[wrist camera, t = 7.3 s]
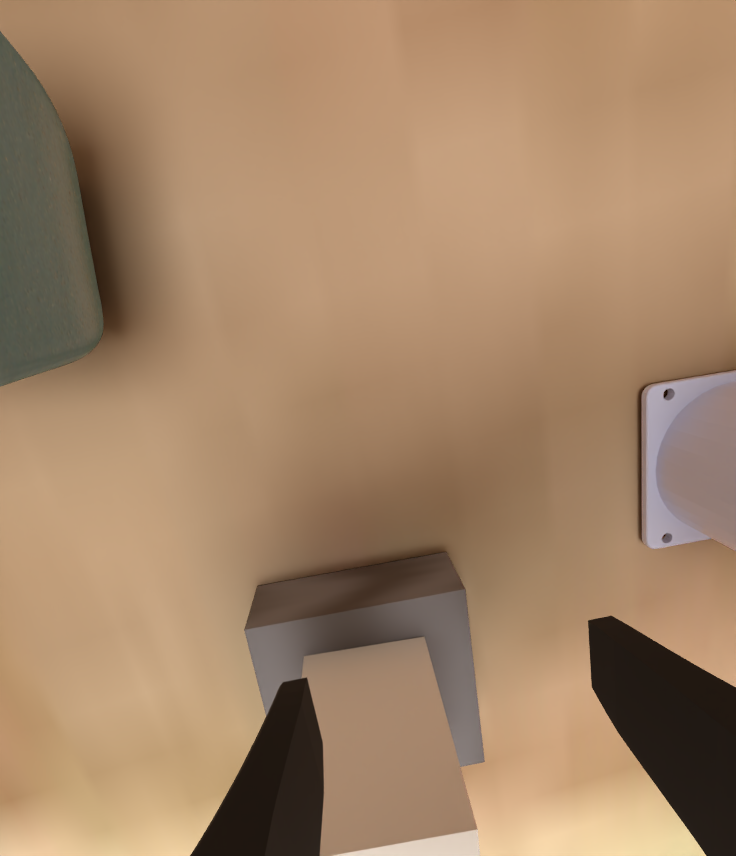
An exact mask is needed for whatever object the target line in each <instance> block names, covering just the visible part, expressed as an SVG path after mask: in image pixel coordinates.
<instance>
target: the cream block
mask: <svg viewBox="0 0 736 856" xmlns="http://www.w3.org/2000/svg"><path fill="white" fill-rule="evenodd" d="M306 677H307V679H308V683H309V688H310V692H311V696H312V700H313V704H314V708H315V712H316V716H317V720H318V725H319V729H320V733H321V737H322V741H323V765H324V800H323V815H322V830H321V844H320V856H480V849H479V839H478V829H477V826H476V822H475V819H474V815H473V811H472V808H471V804H470V800H469V797H468V793H467V789H466V786H465V782H464V779H463V775H462V771H461V768H460V764H459V760H458V757H457V753H456V750H455V746H454V742H453V739H452V735H451V731H450V728H449V724H448V721H447V717H446V713H445V710H444V706H443V702H442V699H441V695H440V691H439V688H438V684H437V681H436V677H435V673H434V670H433V666H432V662H431V659H430V655H429V652H428V648H427V644H426V641H425V637H418V638H412V639H406V640H400V641H394V642H388V643H382V644H376V645H369V646H363V647H357V648H351V649H345V650H339V651H333V652H327V653H321V654H314V655H308V656H304V660H303V670H302V678H306Z"/></svg>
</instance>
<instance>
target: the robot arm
mask: <svg viewBox="0 0 736 856" xmlns="http://www.w3.org/2000/svg"><path fill="white" fill-rule="evenodd" d="M666 389H667V390H668V394H667V396H666V397H665V398H664V397H663V394H664V392H665V390H666ZM664 534H666V536H665V537H664V538H663V539H662V537H663V535H664ZM707 539H714V540H716V541H718V542H719V543H721V544H723V545H725V546H727V547H728V548H730V549H732V550H734V551H736V370H733V371H727V372H721V373H715V374H709V375H703V376H697V377H691V378H685V379H679V380H673V381H667V382H661V383H655V384H651V385H648V386H647V387H646V388H645V389H644V391H643V392H642V541H643V543H644V544H645V545H646V546H648V547H649V548H652V549H659V548H664V547H669V546H675V545H680V544H686V543H691V542H697V541H702V540H707ZM588 626H589V644H590V662H591V680H592V688H593V690H594V692H595V693H596V695H597V697H598V699H599V701H600V702H601V704H602V706H603V708H604V709H605V711H606V713H607V715H608V716H609V718H610V720H611V721H612V723H613V725H614V726H615V728H616V730H617V731H618V733H619V734H620V736H621V737H622V738H623V740H624V741H625V743H626V744H627V746H628V747H629V748H630V750H631V751H632V753H633V754H634V755H635V757H636V758H637V760H638V761H639V762H640V764H641V765H642V767H643V768H644V769H645V771H646V772H647V773H648V775H649V776H650V778H651V779H652V780H653V782H654V783H655V784H656V786H657V787H658V789H659V790H660V791H661V793H662V794H663V795H664V797H665V798H666V800H667V801H668V802H669V804H670V805H671V806H672V808H673V809H674V811H675V812H676V813H677V815H678V816H679V818H680V819H681V820H682V822H683V823H684V824H685V826H686V827H687V829H688V830H689V831H690V833H691V834H692V835H693V837H694V838H695V840H696V841H697V843H698V844H699V845H700V847H701V848H702V850H703V851H704V853H705V854H706V856H736V687H734V686H732V685H730V684H728V683H727V682H725V681H723V680H721V679H719V678H717V677H716V676H714V675H712V674H710V673H708V672H707V671H705V670H703V669H701V668H700V667H698V666H696V665H694V664H693V663H691V662H689V661H687V660H686V659H684V658H682V657H681V656H679V655H677V654H675V653H674V652H672V651H670V650H669V649H667V648H665V647H664V646H662V645H660V644H659V643H657V642H655V641H653V640H652V639H650V638H648V637H647V636H645V635H643V634H642V633H640V632H638V631H637V630H635V629H633V628H632V627H630V626H628V625H627V624H625V623H623V622H622V621H620V620H618V619H616V618H614V617H613V616H608V617H603V618H598V619H593V620H588ZM323 800H324V765H323V741H322V737H321V733H320V729H319V725H318V720H317V716H316V712H315V708H314V704H313V700H312V696H311V692H310V688H309V683H308V679H307V677H306V678H301V679H296V680H291V681H286V682H283V683H282V684H281V685H280V687H279V689H278V691H277V693H276V696H275V698H274V700H273V703H272V705H271V707H270V709H269V712H268V714H267V716H266V718H265V720H264V722H263V725H262V727H261V729H260V731H259V733H258V735H257V737H256V739H255V741H254V743H253V745H252V747H251V749H250V751H249V753H248V755H247V757H246V759H245V761H244V763H243V765H242V767H241V769H240V771H239V773H238V775H237V777H236V779H235V780H234V782H233V784H232V786H231V788H230V789H229V791H228V793H227V795H226V796H225V798H224V800H223V802H222V804H221V805H220V807H219V809H218V811H217V813H216V814H215V816H214V818H213V820H212V821H211V823H210V825H209V826H208V828H207V830H206V831H205V833H204V835H203V836H202V838H201V839H200V841H199V843H198V844H197V846H196V848H195V849H194V851H193V852H192V854H191V855H190V856H320V844H321V830H322V815H323Z"/></svg>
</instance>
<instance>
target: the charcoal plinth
mask: <svg viewBox="0 0 736 856" xmlns="http://www.w3.org/2000/svg"><path fill="white" fill-rule="evenodd" d="M244 631H245V634H246V638H247V642H248V646H249V650H250V654H251V658H252V662H253V666H254V670H255V674H256V678H257V682H258V685H259V689H260V693H261V697H262V701H263V705H264V709H265V713H266V716H267V714H268V712H269V709H270V707H271V705H272V703H273V700H274V698H275V696H276V693H277V691H278V689H279V687H280V685H281V684H282V683H283V682H286V681H291V680H296V679H301V678H302V670H303V660H304V656H308V655H314V654H321V653H327V652H333V651H339V650H345V649H351V648H357V647H363V646H369V645H376V644H382V643H388V642H394V641H400V640H406V639H412V638H418V637H425V641H426V644H427V648H428V652H429V655H430V659H431V662H432V666H433V670H434V673H435V677H436V681H437V684H438V688H439V691H440V695H441V699H442V702H443V706H444V710H445V713H446V717H447V721H448V724H449V728H450V731H451V735H452V739H453V742H454V746H455V750H456V753H457V757H458V760H459V764H460V767H462V766H467V765H472V764H477V763H482V762H485V761H484V752H483V743H482V734H481V725H480V716H479V707H478V698H477V690H476V681H475V672H474V663H473V654H472V645H471V636H470V627H469V618H468V609H467V600H466V591H465V588H464V586H463V584H462V582H461V580H460V578H459V576H458V574H457V572H456V570H455V568H454V566H453V564H452V562H451V560H450V558H449V556H448V554H447V552H443V553H438V554H432V555H427V556H421V557H416V558H410V559H405V560H399V561H394V562H388V563H382V564H377V565H371V566H366V567H360V568H355V569H349V570H344V571H338V572H333V573H327V574H322V575H316V576H310V577H305V578H299V579H294V580H288V581H283V582H277V583H272V584H266V585H261V586H257V589H256V592H255V596H254V599H253V603H252V606H251V609H250V613H249V616H248V619H247V623H246V626H245V629H244Z"/></svg>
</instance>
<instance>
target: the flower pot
mask: <svg viewBox="0 0 736 856" xmlns="http://www.w3.org/2000/svg"><path fill="white" fill-rule="evenodd" d="M103 326H104V323H103V312H102V305H101V300H100V295H99V291H98V286H97V280H96V275H95V270H94V264H93V259H92V254H91V248H90V243H89V237H88V232H87V227H86V221H85V216H84V210H83V204H82V198H81V193H80V187H79V182H78V176H77V171H76V167H75V162H74V158H73V155H72V151H71V148H70V144H69V141H68V138H67V136H66V133H65V130H64V128H63V125H62V123H61V121H60V118H59V116H58V114H57V112H56V110H55V108H54V106H53V104H52V102H51V100H50V98H49V97H48V95H47V93H46V91H45V90H44V88H43V86H42V85H41V83H40V82H39V80H38V79H37V77H36V76H35V74H34V73H33V72H32V70H31V69H30V68H29V66H28V65H27V64H26V63H25V61H24V60H23V59H22V57H21V56H20V55H19V53H18V52H17V51H16V50H15V49H14V47H13V46H12V45H11V44H10V42H9V41H8V40H7V39H6V38H5V36H4V35H3V34H2V33H1V32H0V386H3V385H6V384H9V383H12V382H15V381H18V380H21V379H24V378H27V377H30V376H33V375H36V374H39V373H42V372H45V371H48V370H51V369H55V368H57V367H60V366H63V365H66V364H69V363H71V362H74V361H76V360H78V359H80V358H82V357H84V356H86V355H87V354H88V353H90V352H91V351H92V350H93V349H94V348H95V347H96V345H97V344H98V343H99V341H100V339H101V336H102V333H103Z"/></svg>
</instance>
